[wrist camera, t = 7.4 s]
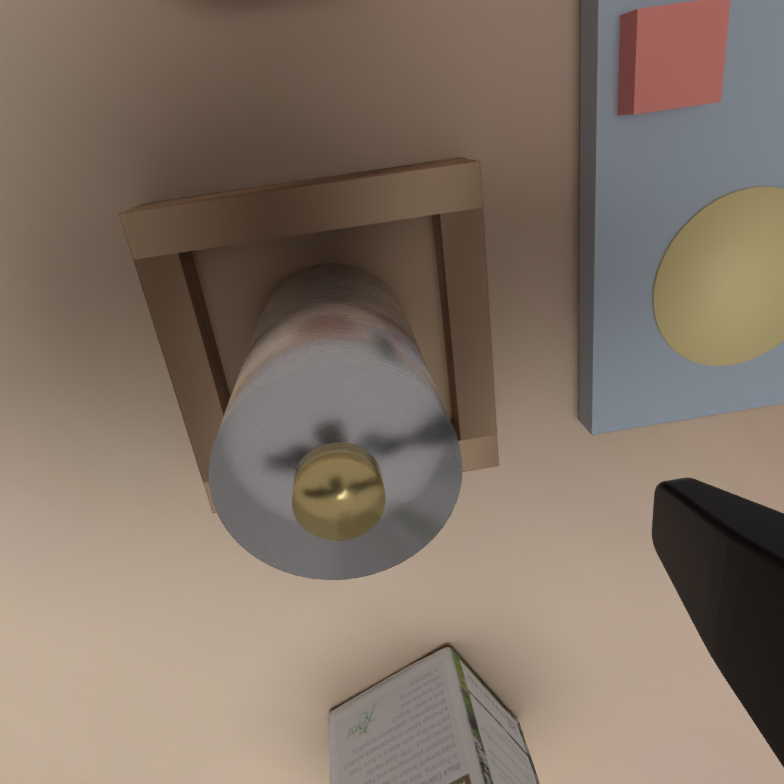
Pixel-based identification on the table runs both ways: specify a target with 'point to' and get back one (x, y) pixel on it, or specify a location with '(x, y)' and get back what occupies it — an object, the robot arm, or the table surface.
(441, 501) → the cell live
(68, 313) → the table surface
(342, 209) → the brown wooden tray
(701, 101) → the blue grey board
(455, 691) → the syrup box
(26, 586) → the table surface
